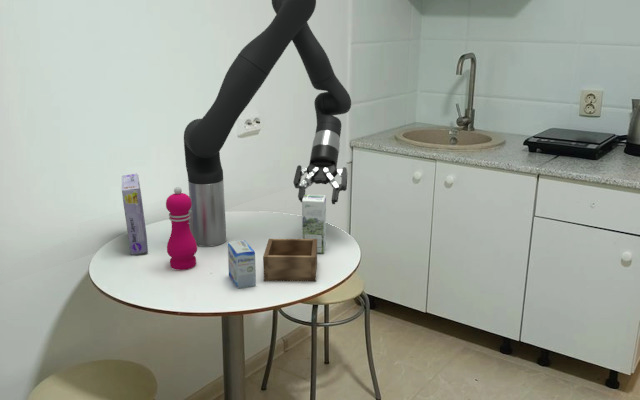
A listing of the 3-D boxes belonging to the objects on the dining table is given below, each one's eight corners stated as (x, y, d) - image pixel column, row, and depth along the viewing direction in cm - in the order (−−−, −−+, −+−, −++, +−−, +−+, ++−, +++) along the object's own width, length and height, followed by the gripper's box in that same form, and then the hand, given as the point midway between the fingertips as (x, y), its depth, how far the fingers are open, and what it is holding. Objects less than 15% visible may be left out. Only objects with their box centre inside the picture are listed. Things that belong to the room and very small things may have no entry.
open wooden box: (263, 281, 136) (263, 256, 134) (269, 261, 148) (268, 238, 146) (315, 281, 136) (315, 257, 134) (317, 261, 147) (317, 238, 146)
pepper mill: (203, 261, 147) (198, 184, 142) (188, 272, 141) (182, 192, 135) (178, 258, 150) (172, 182, 144) (162, 268, 143) (155, 189, 137)
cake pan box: (127, 232, 168) (121, 172, 163) (145, 230, 170) (140, 171, 165) (128, 256, 151) (121, 190, 146) (148, 254, 152) (142, 188, 147)
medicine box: (228, 276, 139) (226, 241, 136) (246, 273, 141) (245, 239, 138) (237, 289, 132) (236, 253, 130) (256, 286, 134) (255, 250, 131)
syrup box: (326, 246, 158) (326, 194, 154) (324, 254, 152) (324, 200, 148) (304, 245, 158) (304, 193, 154) (302, 253, 153) (301, 199, 148)
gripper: (297, 142, 161) (288, 193, 154) (349, 144, 159) (342, 196, 151) (302, 157, 168) (293, 207, 160) (352, 159, 165) (345, 210, 158)
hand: (317, 202), depth 156 cm, fingers open, 8 cm apart
